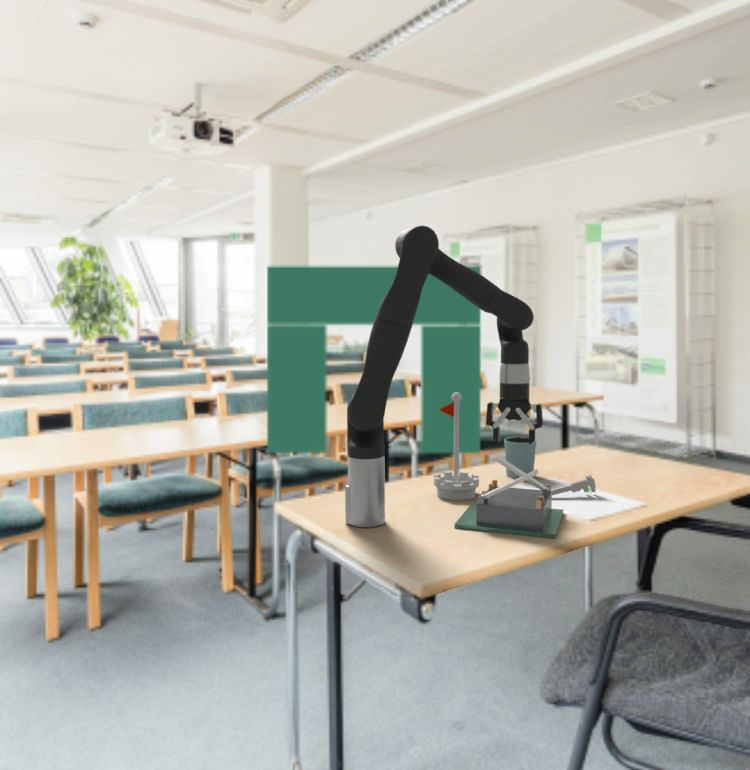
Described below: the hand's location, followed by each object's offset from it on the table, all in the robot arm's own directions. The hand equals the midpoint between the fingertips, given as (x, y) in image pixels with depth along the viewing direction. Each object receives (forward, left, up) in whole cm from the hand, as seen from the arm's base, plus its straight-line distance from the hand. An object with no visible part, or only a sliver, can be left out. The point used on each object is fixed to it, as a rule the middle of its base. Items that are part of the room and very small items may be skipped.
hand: (514, 442), depth 176 cm
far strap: (+2, 0, -9) cm, 9 cm away
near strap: (+1, -12, -9) cm, 15 cm away
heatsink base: (0, -7, -19) cm, 20 cm away
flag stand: (-19, +13, -19) cm, 30 cm away
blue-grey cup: (-5, +41, -19) cm, 45 cm away
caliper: (+10, +20, -19) cm, 30 cm away
